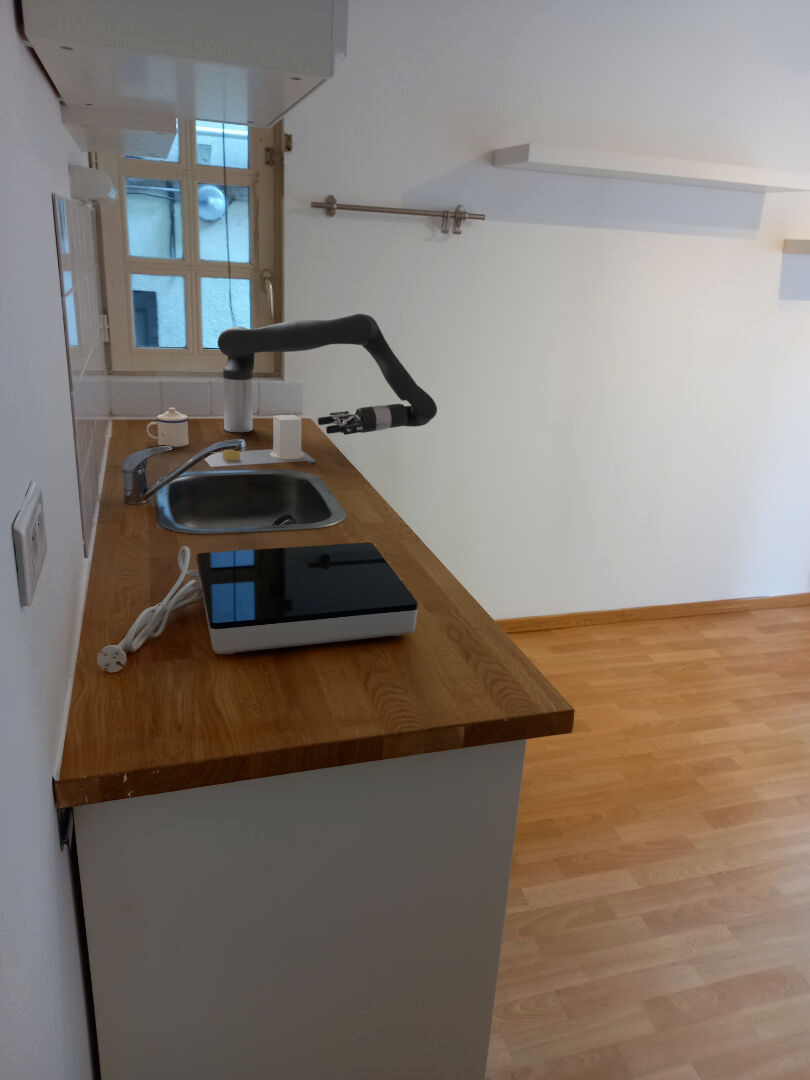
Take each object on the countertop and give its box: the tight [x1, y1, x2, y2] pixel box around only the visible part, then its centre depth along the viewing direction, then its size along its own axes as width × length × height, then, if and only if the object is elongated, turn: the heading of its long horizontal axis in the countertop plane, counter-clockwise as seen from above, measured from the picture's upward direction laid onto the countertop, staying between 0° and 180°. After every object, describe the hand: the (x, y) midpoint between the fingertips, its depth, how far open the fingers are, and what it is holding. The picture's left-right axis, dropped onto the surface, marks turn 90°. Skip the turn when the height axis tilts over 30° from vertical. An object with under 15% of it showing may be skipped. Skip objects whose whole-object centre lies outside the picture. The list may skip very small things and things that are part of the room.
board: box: [203, 448, 316, 468], centre depth 225 cm, size 15×30×1 cm, turn 116°
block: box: [222, 450, 241, 461], centre depth 221 cm, size 4×4×3 cm
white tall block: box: [272, 414, 303, 458], centre depth 227 cm, size 6×6×11 cm
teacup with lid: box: [146, 407, 189, 448], centre depth 232 cm, size 12×9×12 cm
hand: (322, 425), depth 231 cm, fingers open, 8 cm apart
